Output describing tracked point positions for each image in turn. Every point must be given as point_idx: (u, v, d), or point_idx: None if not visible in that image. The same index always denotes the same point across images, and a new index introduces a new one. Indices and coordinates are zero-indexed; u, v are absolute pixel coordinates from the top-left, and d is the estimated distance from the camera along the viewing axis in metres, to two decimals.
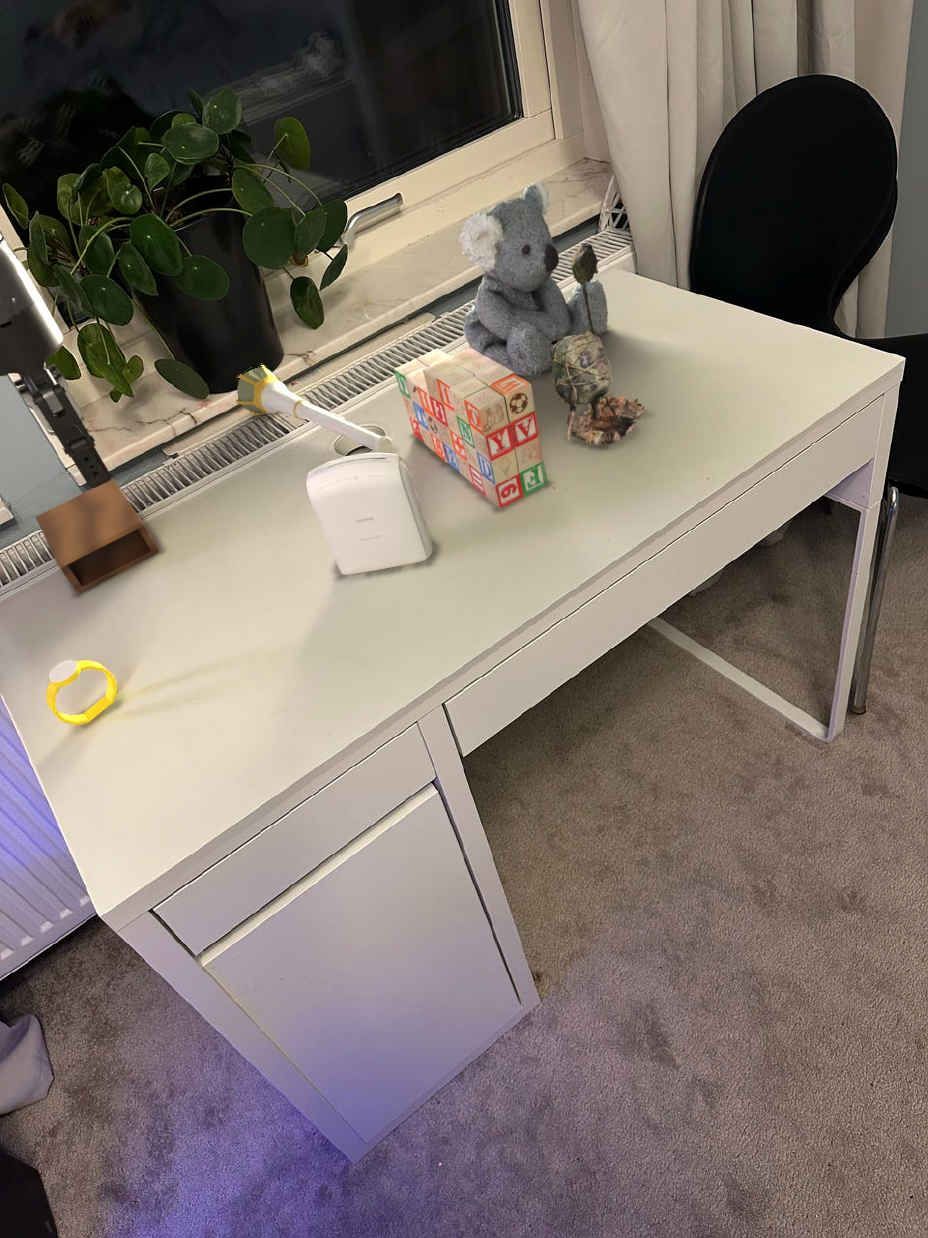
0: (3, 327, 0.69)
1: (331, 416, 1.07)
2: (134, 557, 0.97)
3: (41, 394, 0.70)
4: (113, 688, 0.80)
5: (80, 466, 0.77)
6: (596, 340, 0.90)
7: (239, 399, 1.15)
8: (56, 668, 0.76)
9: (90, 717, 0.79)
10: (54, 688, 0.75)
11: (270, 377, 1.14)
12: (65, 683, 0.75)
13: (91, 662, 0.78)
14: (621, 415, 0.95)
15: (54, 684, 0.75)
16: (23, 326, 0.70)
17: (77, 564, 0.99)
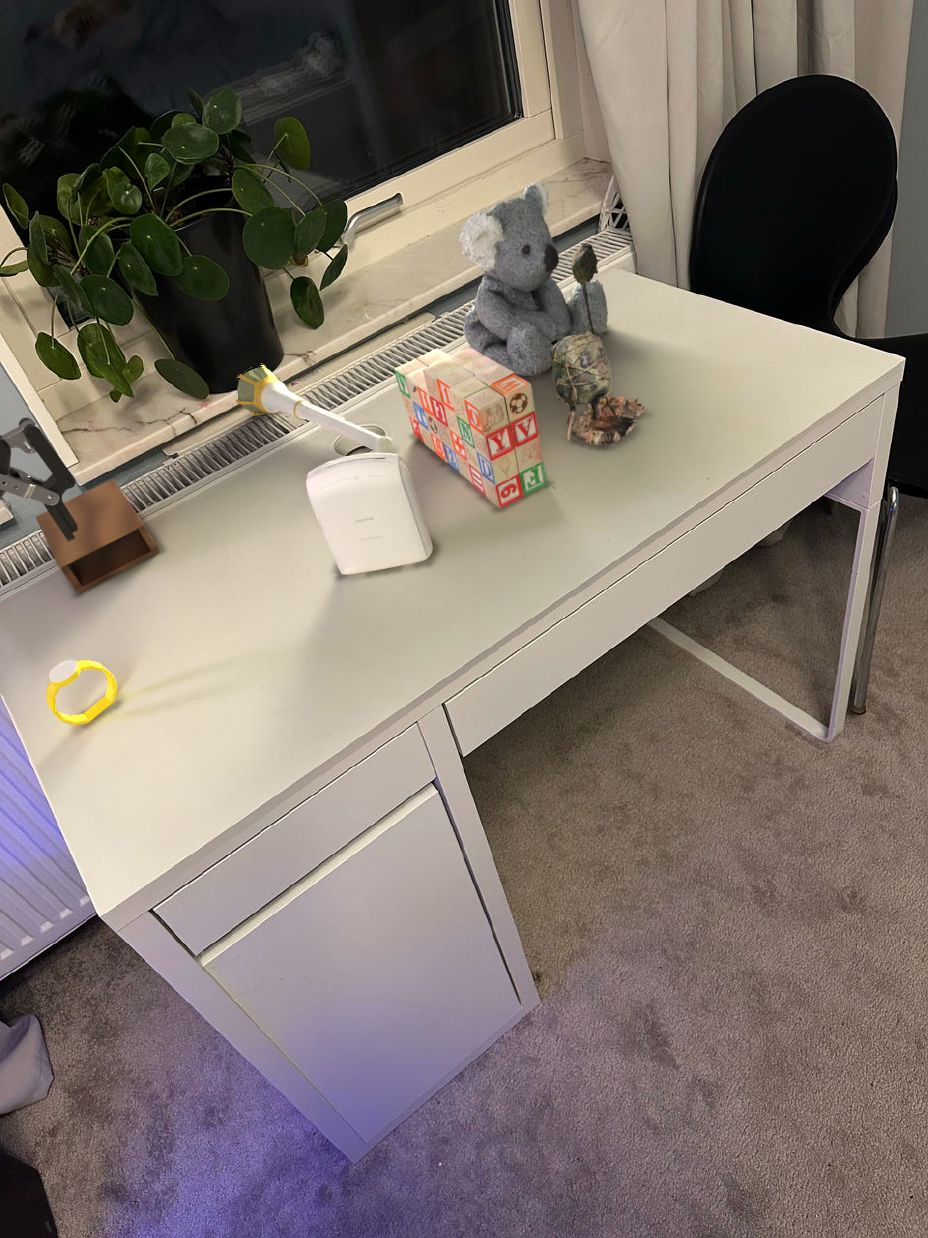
0: None
1: (331, 416, 1.07)
2: (134, 557, 0.97)
3: None
4: (113, 688, 0.80)
5: None
6: (596, 340, 0.90)
7: (239, 399, 1.15)
8: (56, 668, 0.76)
9: (90, 717, 0.79)
10: (54, 688, 0.75)
11: (270, 377, 1.14)
12: (65, 683, 0.75)
13: (91, 662, 0.78)
14: (621, 415, 0.95)
15: (54, 684, 0.75)
16: None
17: (77, 564, 0.99)
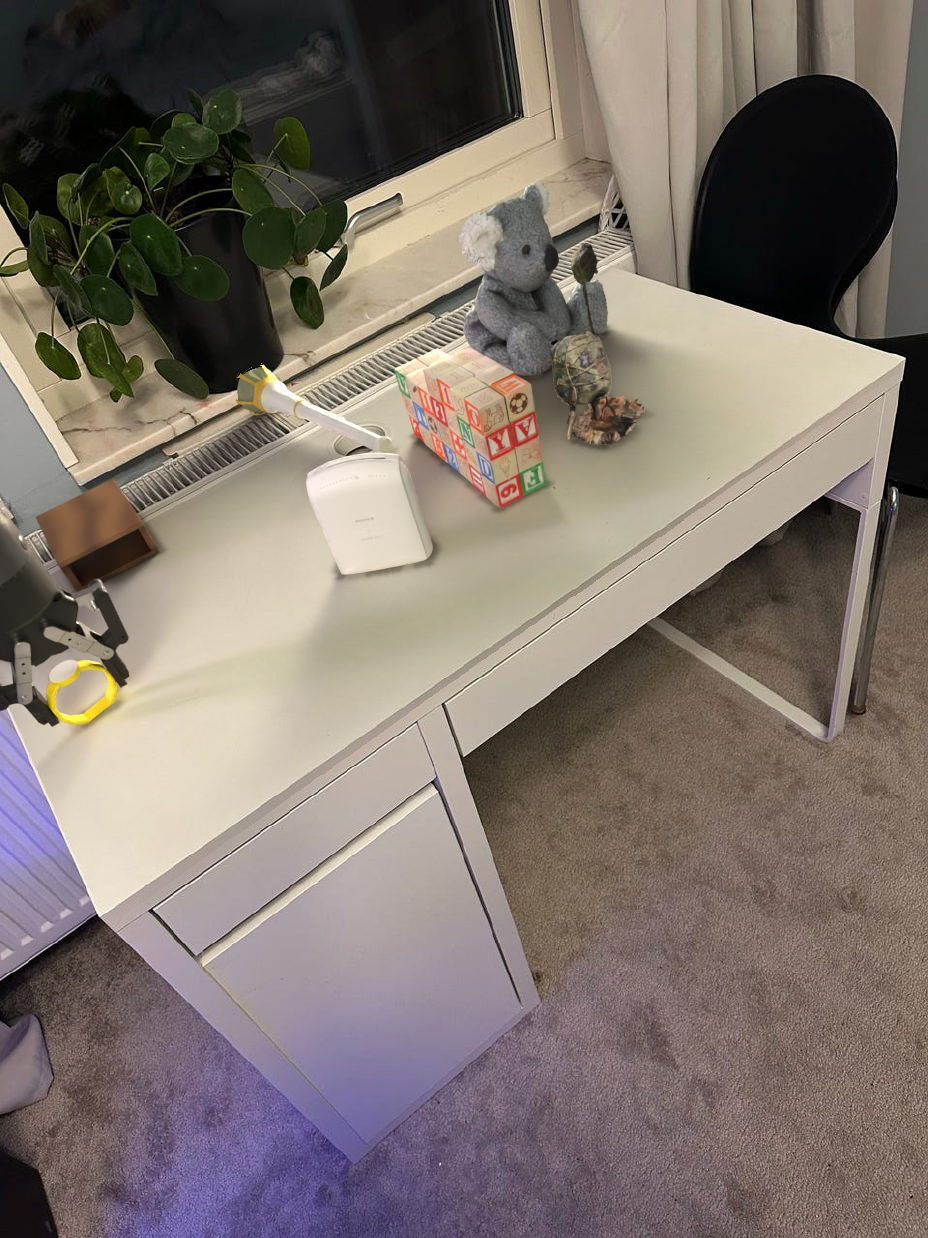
0: None
1: (331, 416, 1.07)
2: (134, 557, 0.97)
3: None
4: (113, 688, 0.80)
5: None
6: (596, 340, 0.90)
7: (239, 399, 1.15)
8: (56, 668, 0.76)
9: (90, 717, 0.79)
10: (54, 688, 0.75)
11: (270, 377, 1.14)
12: (65, 683, 0.75)
13: (91, 662, 0.78)
14: (621, 415, 0.95)
15: (54, 684, 0.75)
16: None
17: (77, 564, 0.99)
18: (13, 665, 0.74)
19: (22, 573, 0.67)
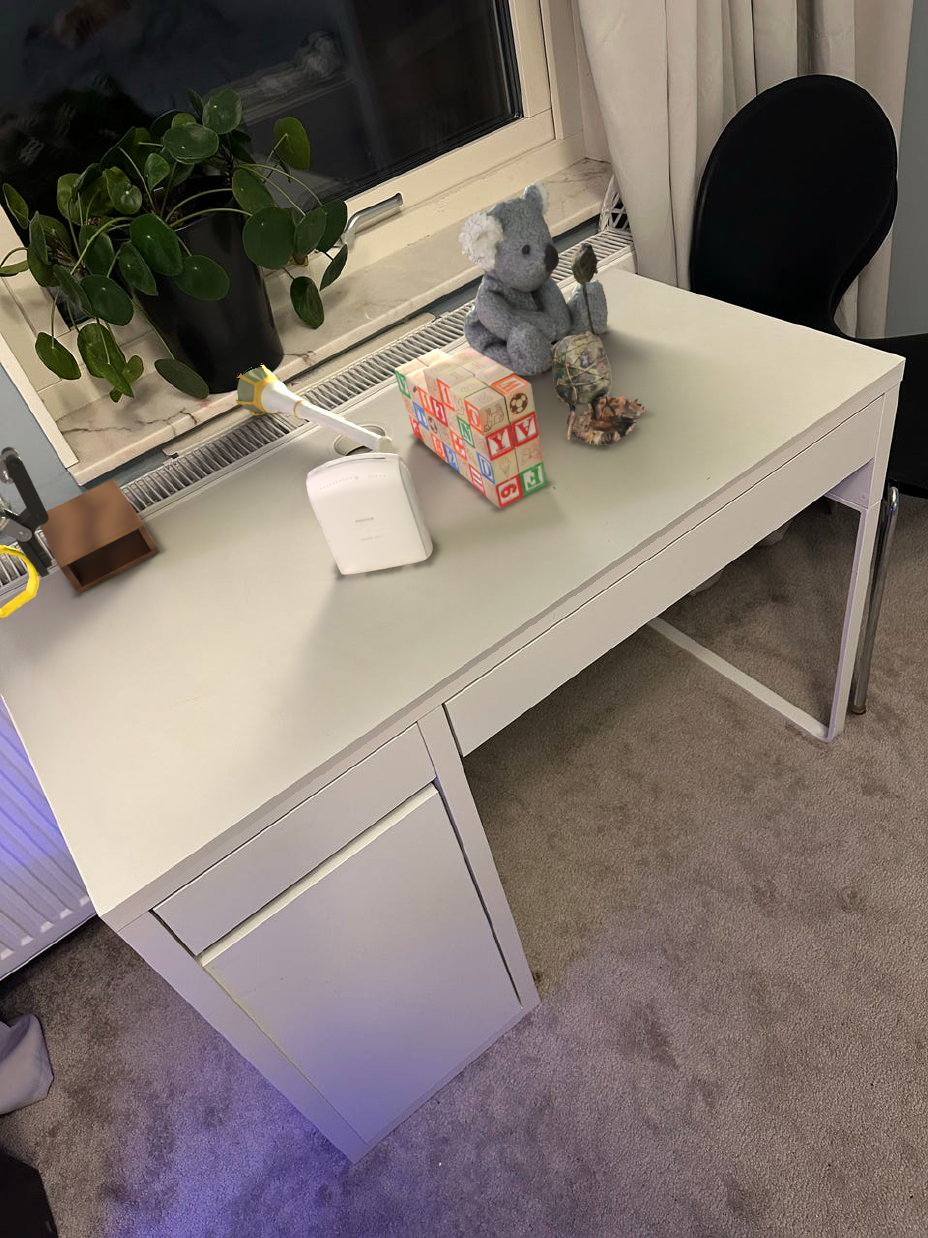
0: None
1: (331, 416, 1.07)
2: (134, 557, 0.97)
3: None
4: (34, 579, 0.71)
5: None
6: (596, 340, 0.90)
7: (239, 399, 1.15)
8: None
9: (8, 611, 0.70)
10: None
11: (270, 377, 1.14)
12: None
13: (8, 547, 0.69)
14: (621, 415, 0.95)
15: None
16: None
17: (77, 564, 0.99)
18: None
19: None
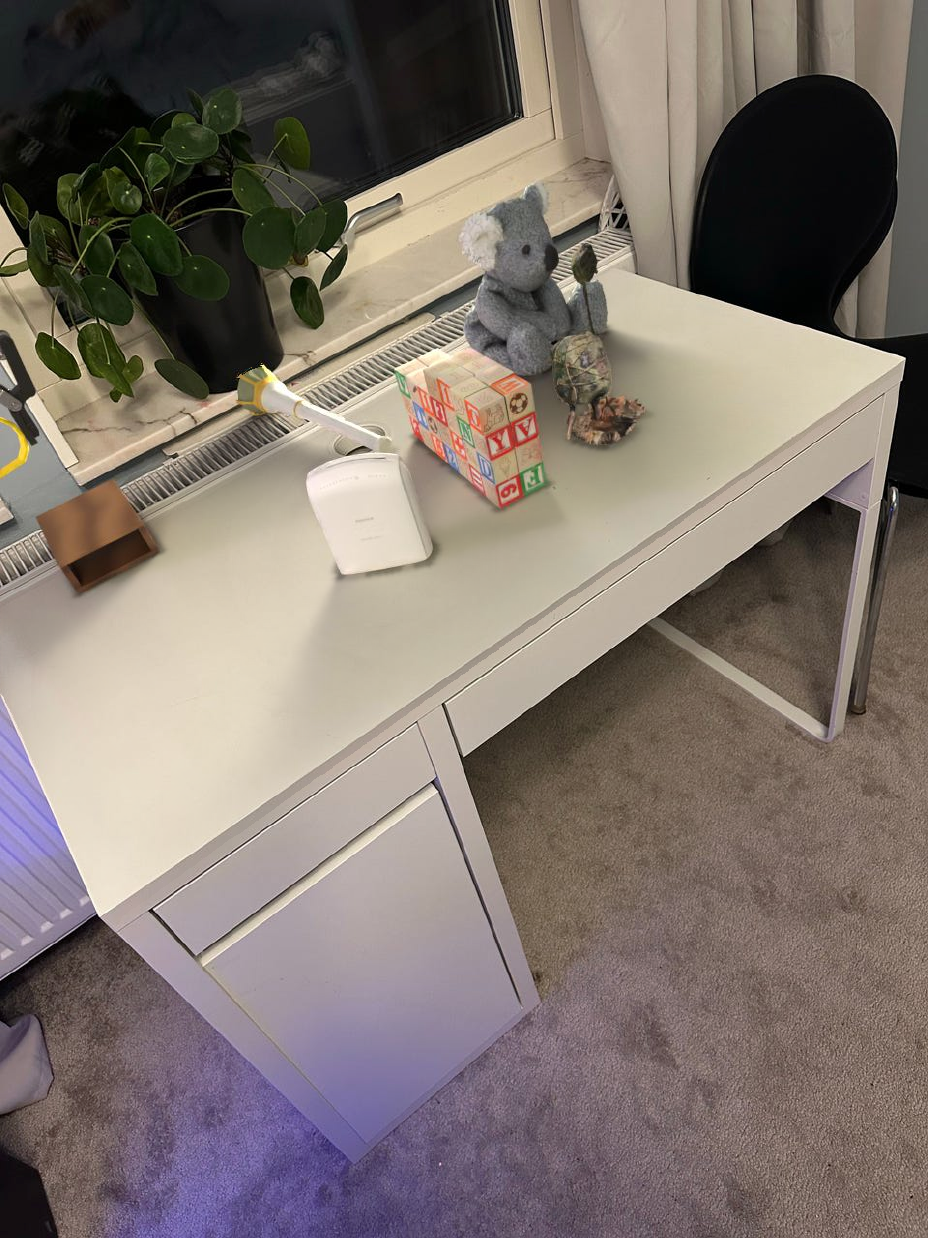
0: None
1: (331, 416, 1.07)
2: (134, 557, 0.97)
3: None
4: (25, 447, 0.84)
5: None
6: (596, 340, 0.90)
7: (239, 399, 1.15)
8: None
9: (2, 473, 0.84)
10: None
11: (270, 377, 1.14)
12: None
13: (2, 418, 0.83)
14: (621, 415, 0.95)
15: None
16: None
17: (77, 564, 0.99)
18: None
19: None
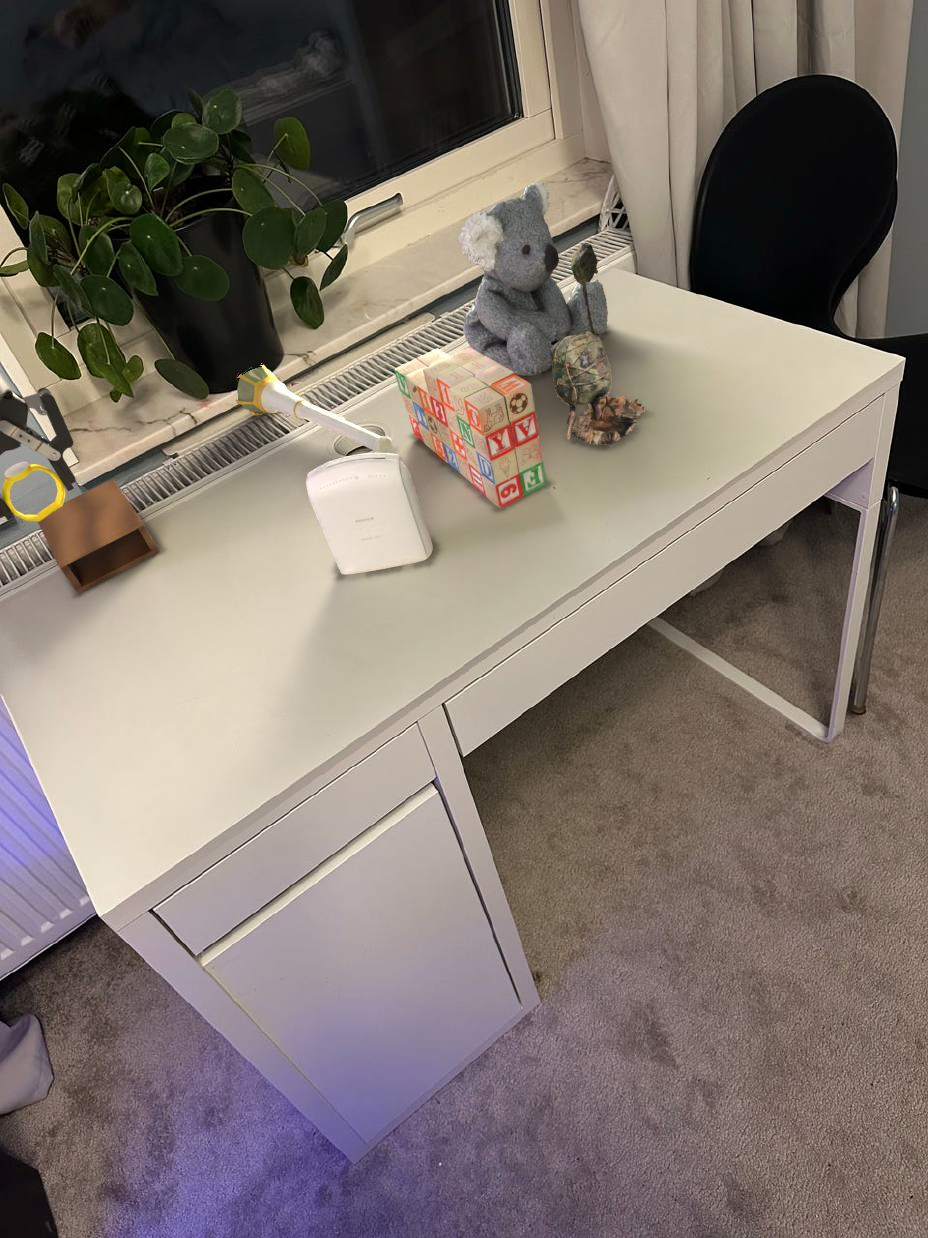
0: None
1: (331, 416, 1.07)
2: (134, 557, 0.97)
3: None
4: (62, 492, 0.92)
5: None
6: (596, 340, 0.90)
7: (239, 399, 1.15)
8: (11, 468, 0.89)
9: (41, 516, 0.91)
10: (8, 483, 0.88)
11: (270, 377, 1.14)
12: (18, 478, 0.88)
13: (42, 466, 0.90)
14: (621, 415, 0.95)
15: (8, 479, 0.88)
16: None
17: (77, 564, 0.99)
18: None
19: None
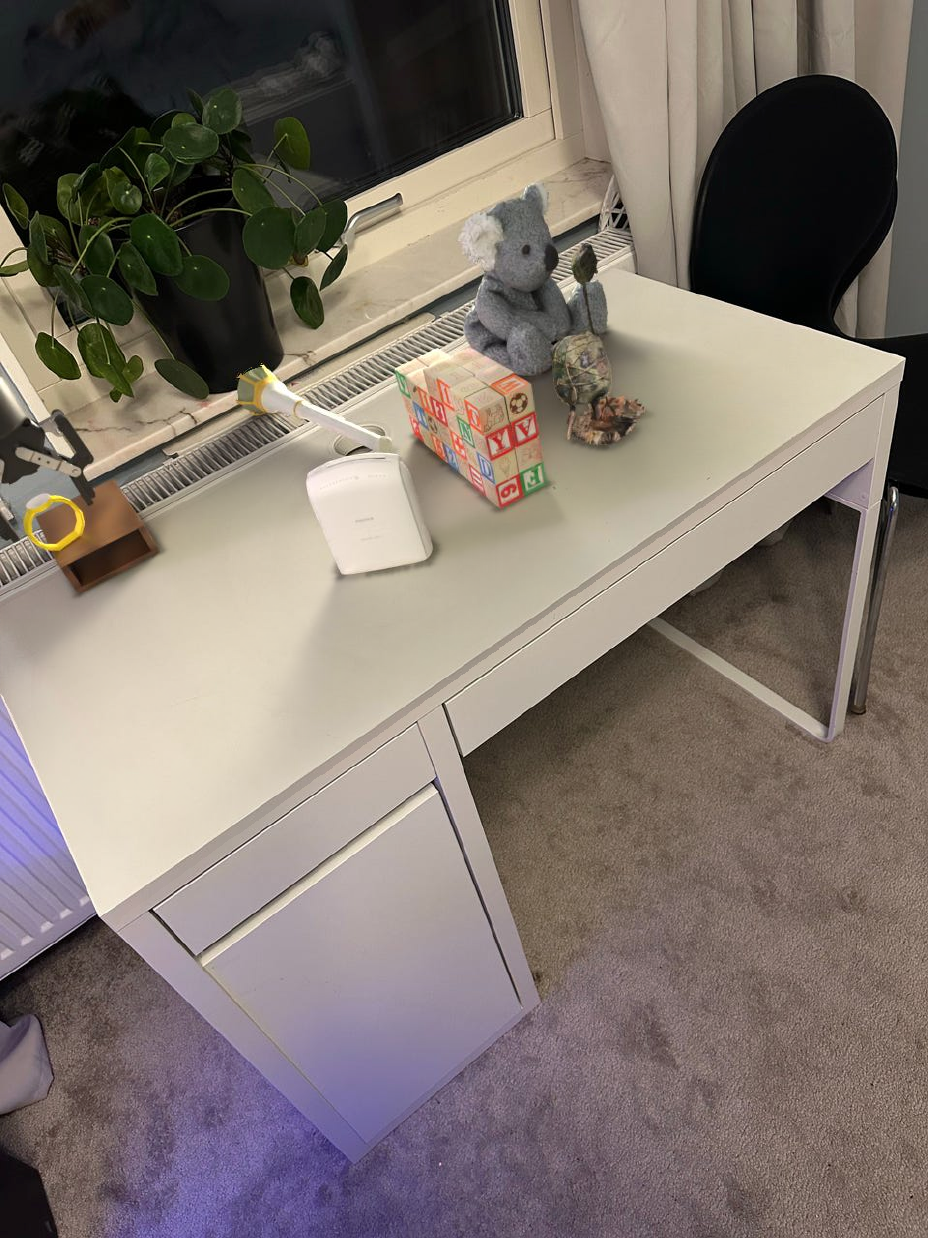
0: None
1: (331, 416, 1.07)
2: (134, 557, 0.97)
3: None
4: (81, 522, 0.95)
5: None
6: (596, 340, 0.90)
7: (239, 399, 1.15)
8: (32, 499, 0.91)
9: (61, 545, 0.94)
10: (30, 514, 0.91)
11: (270, 377, 1.14)
12: (39, 510, 0.90)
13: (62, 497, 0.93)
14: (621, 415, 0.95)
15: (30, 511, 0.90)
16: None
17: (77, 564, 0.99)
18: None
19: None
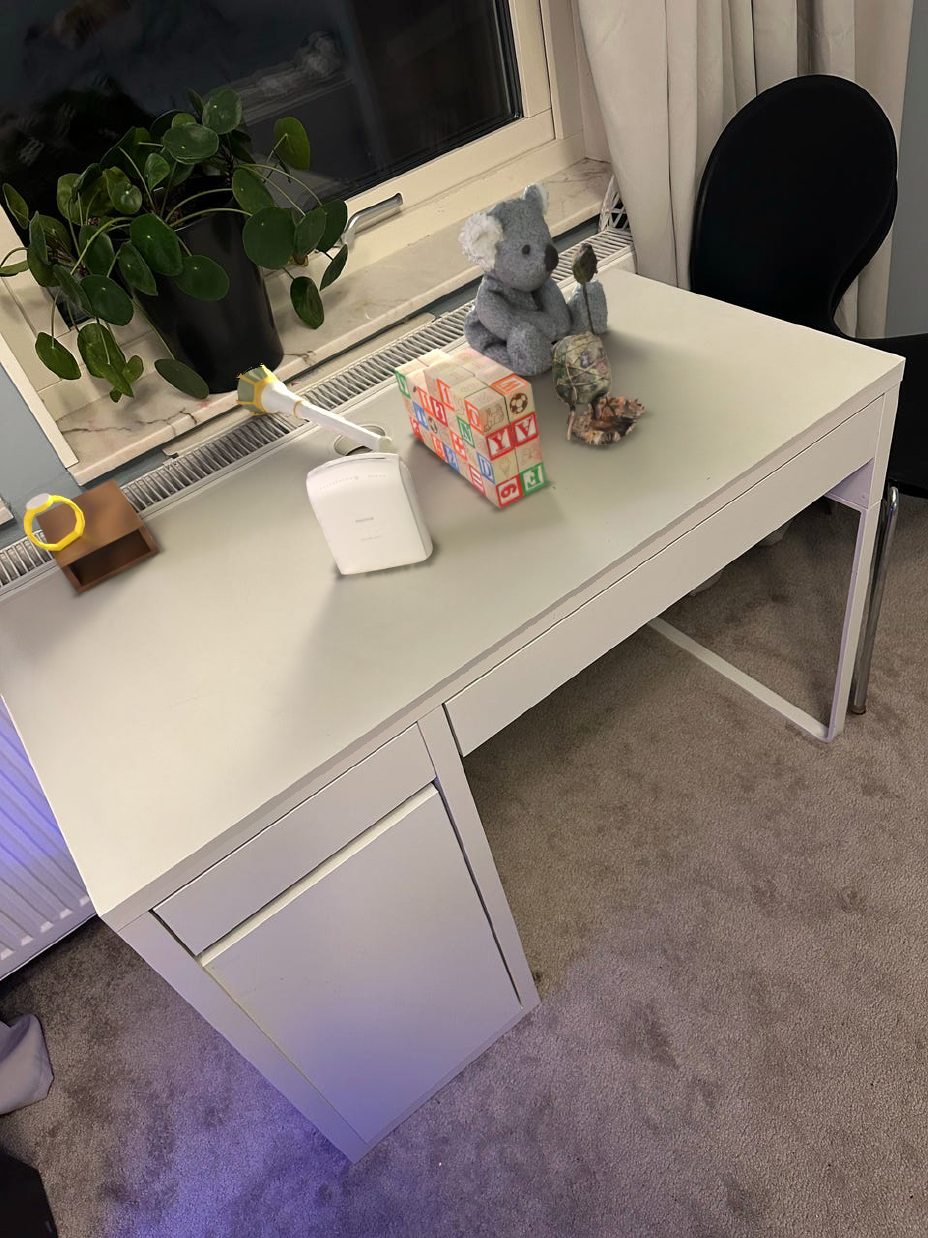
0: None
1: (331, 416, 1.07)
2: (134, 557, 0.97)
3: None
4: (81, 522, 0.95)
5: None
6: (596, 340, 0.90)
7: (239, 399, 1.15)
8: (32, 499, 0.91)
9: (61, 545, 0.94)
10: (30, 514, 0.91)
11: (270, 377, 1.14)
12: (39, 510, 0.90)
13: (62, 497, 0.93)
14: (621, 415, 0.95)
15: (30, 511, 0.90)
16: None
17: (77, 564, 0.99)
18: None
19: None
